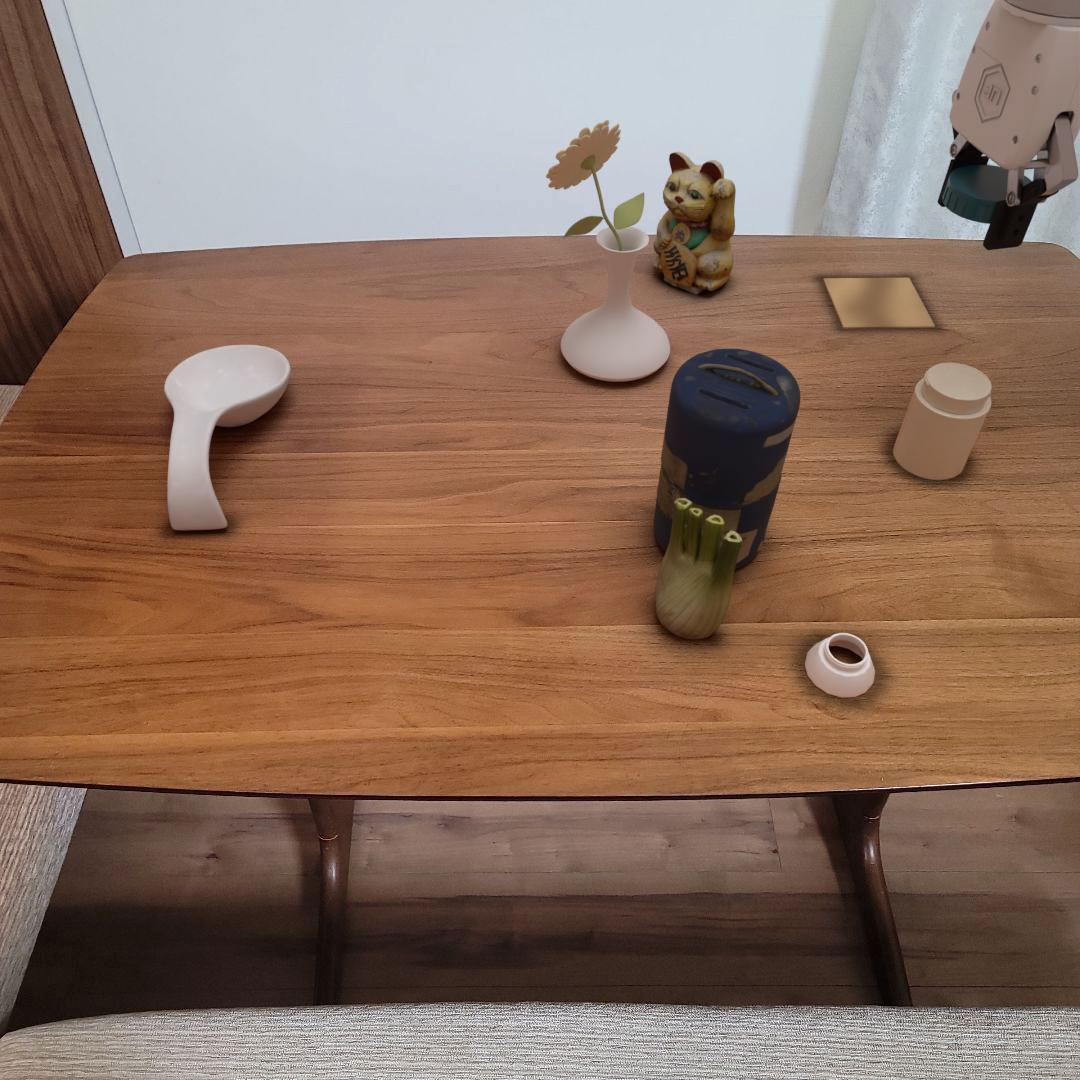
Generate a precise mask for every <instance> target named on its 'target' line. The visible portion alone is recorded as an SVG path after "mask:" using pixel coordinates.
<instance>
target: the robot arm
mask: <svg viewBox="0 0 1080 1080" xmlns="http://www.w3.org/2000/svg"><path fill="white" fill-rule="evenodd" d="M949 121H950V124H951V128H952V135H953V141H952V142H951V144H950V146H949V155H950V157H951V158H952V159H950V161H949V164H948V168H947V171H946V173H945V177H944V179H943V183H942V186H941V188H940V189H941V190H940V192H939V195H938V200H937V205H939V206H940V207H941V208H946V206H945V205H944V203H943V202H942V201H943V197H942V194H943V191H944V188H945V185H946V182H947V181H948V178H949V176H950V174H951V172H952V171H954V170H955V169H957V168H959V167H963V166H967V165H989V164H988V162H989V161H990V160H991V161H992V162H993V163H994V164H996V166H999V167H1002V168H1004V169H1008V180H1007V192H1006V200H1001V201H999V202H998V204H997V206H996V209H995V212H994V214H993V217H992V220H991V222H990V224H988V225H989V226H988V229H987V231H986V234H985V236H984V239H983V241H982V246H983V248H984V249H985V250H987V251H994V250H995V251H996V250H1002V249H1003V250H1004V249H1011V248H1017V247H1020V246H1021V245H1022V244H1023V242H1024V239H1025V237H1026V236H1027V232H1028V231H1029V227H1030V224H1031V222H1032V219H1033V217H1034V215H1035V212H1036V210H1037V207H1038V205H1039V204H1043V203H1045V202H1046V201H1047V200H1048V198H1051V197H1053V196H1054V195H1057V194H1058V193H1059V192H1060V190H1063V189H1065V188H1066V187H1068V186H1070V185H1072V184H1073V183H1074V182H1076V181H1077V180H1078V178H1079V167H1078V161H1077V155H1076V149H1075V142H1076V140H1077V137H1078V135H1079V132H1080V0H994V2H992V5H991V7H990V8H989V10H988V12H987V14H986V17H985V18H984V20H983V23H982V25H981V26H980V30H979V31H978V33H977V36H976V38H975V40H974V43H973V46H972V48H971V51H970V53H969V56H968V57H967V61H966V63H965V66H964V69H963V72H962V74H961V77H960V80H959V83H958V85H957V89H955V90H954V91H953V92H952V94H951V108H950V111H949ZM1035 157H1036V159H1034V158H1035ZM1026 170H1033V177H1032V180H1031V181H1032V182H1030V183H1028V184H1026V185H1024V186H1023V182H1024V176H1025V171H1026Z"/></svg>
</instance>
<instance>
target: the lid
mask: <svg viewBox="0 0 1080 1080" xmlns="http://www.w3.org/2000/svg"><path fill="white" fill-rule="evenodd" d="M1007 180H1008V169H1004V168H1002V167H1000V166H999V165H993V164H987V165H967V166H963V167H959V168H957V169H955V170H954V171H952V172H951V174H950V176H949V178H948V181H947V182H946V185H945V188H944V191H943V194H942V197H943V201H942V202H943V203H944V205H945V206H946V207H945V208H946V209H947V210H948V211H950V212H951V213H953V214H954V215H956V216H958V217H960V218H963V219H965V220H967V221H972V222H976V223H980V224H987V225H990V222H991V220H992V217H993V214H994V212H995V209H996V206H997V204H998V202H999V201H1001V200H1006V192H1007ZM1032 181H1033V180H1032V179H1031V178H1029V177H1028V176H1026V175H1024V182H1023V186H1024V185H1026V184H1028V183H1030V182H1032Z"/></svg>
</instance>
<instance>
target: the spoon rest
mask: <svg viewBox="0 0 1080 1080" xmlns="http://www.w3.org/2000/svg"><path fill="white" fill-rule="evenodd" d="M291 372H292V369H291V364H290V361H289V360H288V358H287V357H286V355H284V354H283V353H282V352H280V351H279V350H277V349H274V348H272V347H268V346H264V345H257V344H234V345H233V344H232V345H223V346H218V347H213V348H210V349H205V350H203V351H200V352H198V353H195V354H193V355H191V356H189V357H187V358H185V359H184V360H183V361H181V362H180V363H178V364H177V365H176V366H175V367H174V368H172V370H171V371H170V372H169V374H168V375H167V377H166V379H165V382H164V385H163V386H164V387H163V392H164V395H165V396H166V399H167V401H168V402H169V404H170V405H171V407H172V409H173V423H172V427H171V435H170V441H169V443H170V444H169V451H168V452H169V453H168V462H167V463H168V464H167V466H168V467H167V485H166V487H167V489H166V490H167V491H166V492H167V495H166V496H167V497H166V500H167V512H168V513H167V514H168V519H169V523H170V526H171V529H173V530H175V531H205V530H207V531H209V530H220V529H226V528H227V527H228V521H227V519H226V516H225V514H224V512H223V510H222V507H221V504H220V502H219V500H218V498H217V495H216V492H215V489H214V486H213V482H212V479H211V474H210V460H209V459H210V448H211V447H210V446H211V441H212V436H213V433H214V430H215V427H216V426H217V427H222V428H236V427H241V426H245V425H248V424H251V423H252V422H254V421H256V420H258V419H259V418H260V417H262V416H263V415H265V414H266V413H267V412H269V411H270V410H271V409H272V408H273V407H274V406H275V405H276V404H277V403H278V402H279V401H280V399H281V398H282V396H283V395H284V393H285V392H286V390H287V387H288V386H289V385H288V384H289V381H290V377H291Z"/></svg>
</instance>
